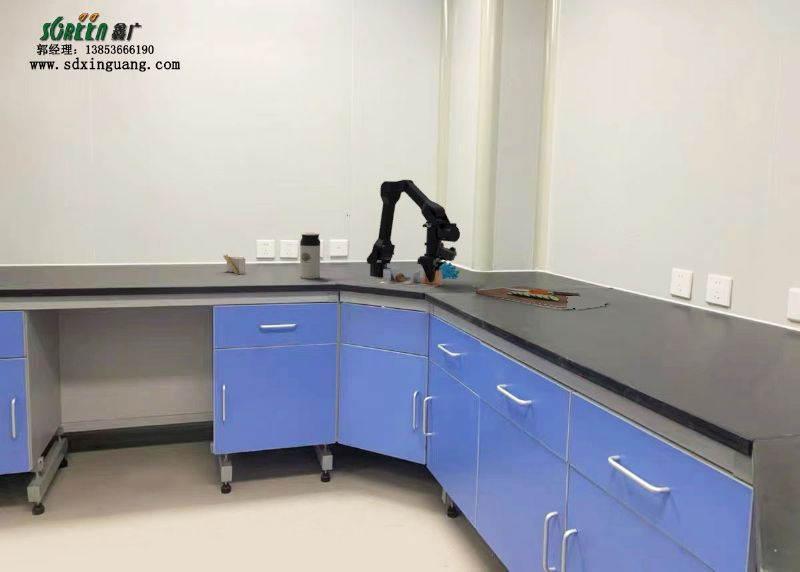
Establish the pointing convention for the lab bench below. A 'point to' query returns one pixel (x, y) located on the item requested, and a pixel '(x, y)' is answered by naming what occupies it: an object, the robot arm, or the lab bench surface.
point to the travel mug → (310, 256)
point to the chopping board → (529, 295)
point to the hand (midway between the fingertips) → (432, 281)
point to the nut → (400, 277)
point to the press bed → (407, 282)
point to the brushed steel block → (390, 274)
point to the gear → (449, 271)
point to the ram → (436, 278)
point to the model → (235, 264)
